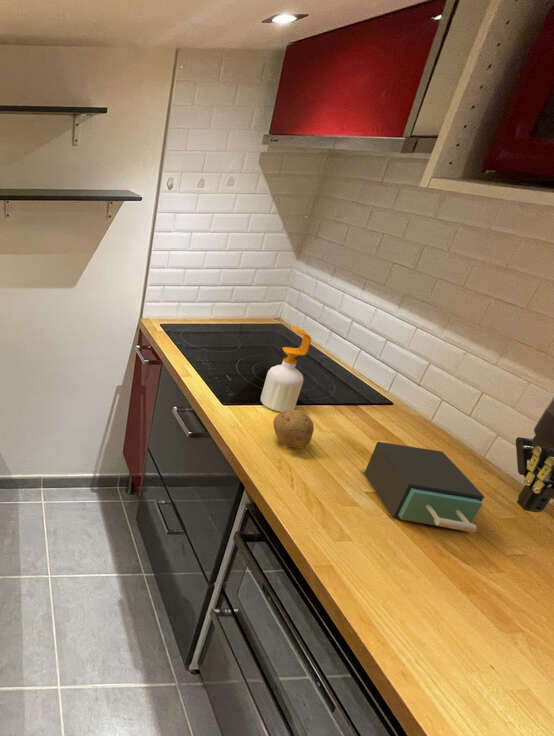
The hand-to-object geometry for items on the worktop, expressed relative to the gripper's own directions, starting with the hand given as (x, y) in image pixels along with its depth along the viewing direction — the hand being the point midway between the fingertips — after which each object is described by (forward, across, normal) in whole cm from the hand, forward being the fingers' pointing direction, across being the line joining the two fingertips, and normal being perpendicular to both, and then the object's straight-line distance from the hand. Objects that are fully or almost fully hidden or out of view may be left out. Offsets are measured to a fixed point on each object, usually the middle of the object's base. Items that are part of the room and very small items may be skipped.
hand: (527, 508), depth 71 cm
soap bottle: (+19, -56, -19) cm, 62 cm away
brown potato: (+19, -36, -21) cm, 46 cm away
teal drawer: (+18, -18, 0) cm, 25 cm away
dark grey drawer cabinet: (+19, -22, 0) cm, 29 cm away
